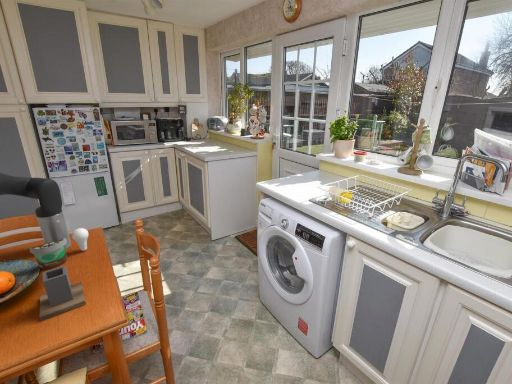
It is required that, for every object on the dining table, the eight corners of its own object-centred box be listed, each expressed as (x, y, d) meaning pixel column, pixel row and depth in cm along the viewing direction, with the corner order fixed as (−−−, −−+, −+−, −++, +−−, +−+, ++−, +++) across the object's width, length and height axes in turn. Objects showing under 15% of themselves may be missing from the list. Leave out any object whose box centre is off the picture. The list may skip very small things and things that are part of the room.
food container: (36, 275, 103) (29, 253, 100) (35, 268, 108) (28, 246, 104) (73, 263, 111) (67, 242, 108) (71, 256, 115) (65, 236, 112)
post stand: (41, 298, 91) (34, 278, 88) (82, 285, 98) (77, 265, 95) (40, 321, 82) (33, 299, 79) (85, 304, 89) (80, 283, 86)
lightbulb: (84, 254, 117) (79, 232, 113) (72, 253, 118) (67, 231, 114) (95, 247, 122) (90, 226, 119) (83, 246, 123) (78, 225, 120)
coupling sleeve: (51, 296, 90) (43, 272, 87) (72, 289, 93) (65, 265, 90) (51, 307, 85) (42, 281, 82) (73, 299, 89) (66, 274, 85)
